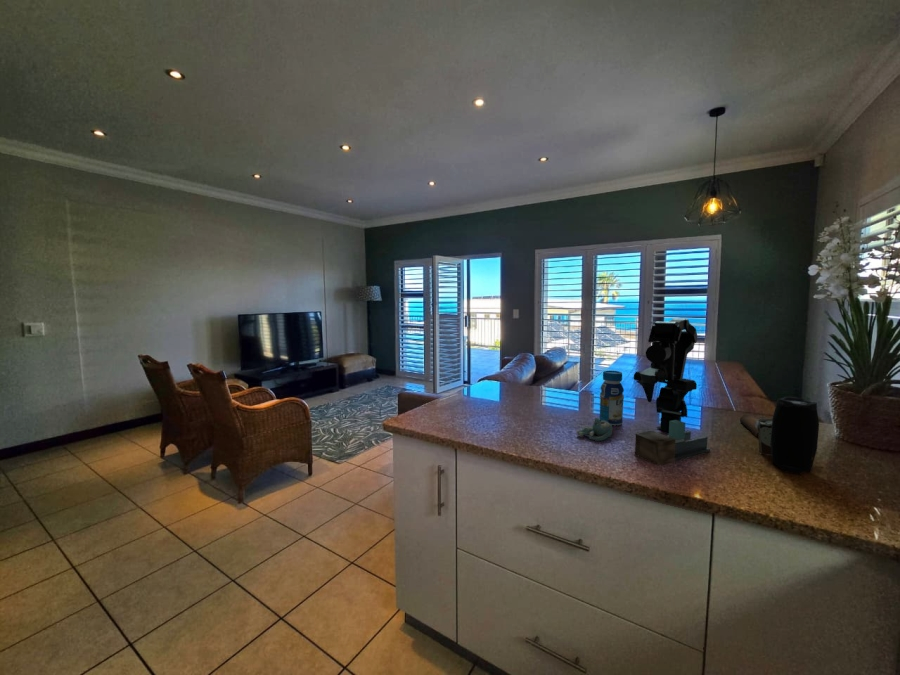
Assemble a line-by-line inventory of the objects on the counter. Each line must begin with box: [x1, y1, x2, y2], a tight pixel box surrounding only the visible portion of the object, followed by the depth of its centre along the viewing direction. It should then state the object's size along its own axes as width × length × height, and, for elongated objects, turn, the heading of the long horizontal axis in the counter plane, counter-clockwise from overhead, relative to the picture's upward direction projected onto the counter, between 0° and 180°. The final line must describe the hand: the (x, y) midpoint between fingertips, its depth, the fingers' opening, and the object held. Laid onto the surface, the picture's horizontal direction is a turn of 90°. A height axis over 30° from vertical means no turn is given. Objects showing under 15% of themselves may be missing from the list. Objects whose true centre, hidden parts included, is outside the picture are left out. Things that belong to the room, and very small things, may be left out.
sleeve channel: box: [666, 430, 711, 462], centre depth 112 cm, size 16×8×4 cm, turn 113°
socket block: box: [634, 430, 676, 466], centre depth 107 cm, size 7×8×7 cm
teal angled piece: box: [668, 420, 686, 443], centre depth 109 cm, size 13×4×8 cm, turn 113°
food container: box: [755, 417, 773, 456], centre depth 111 cm, size 12×6×10 cm, turn 71°
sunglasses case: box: [739, 414, 760, 439], centre depth 129 cm, size 18×7×7 cm, turn 157°
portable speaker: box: [771, 396, 820, 475], centre depth 99 cm, size 9×9×20 cm
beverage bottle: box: [599, 370, 625, 426], centre depth 139 cm, size 8×8×20 cm
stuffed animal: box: [576, 417, 613, 442], centre depth 125 cm, size 11×7×12 cm
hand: (661, 405), depth 120 cm, fingers open, 9 cm apart
